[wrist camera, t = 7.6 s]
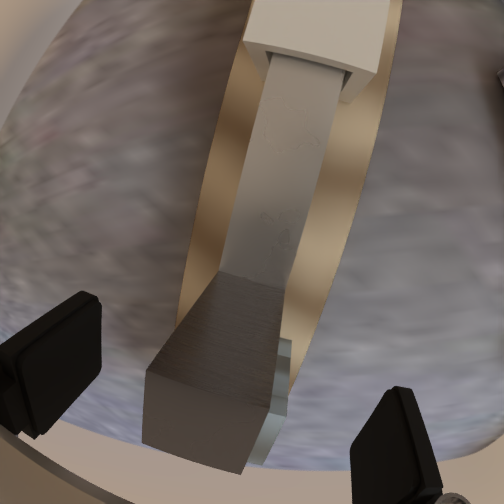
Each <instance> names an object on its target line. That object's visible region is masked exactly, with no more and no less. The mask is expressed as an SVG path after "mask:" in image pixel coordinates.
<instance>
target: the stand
mask: <svg viewBox="0 0 504 504" xmlns="http://www.w3.org/2000/svg"><path fill="white" fill-rule="evenodd" d="M402 1H403V0H390V5H389V11H388V17H387V23H386V28H385V34H384V39H383V45H382V50H381V55H380V60H379V65H378V70H377V74H376V75H375V76H374V77H373V78H372V80H371V81H370V82H369V83H368V84H367V85H366V86H365V88H364V89H363V90H362V91H361V92H360V93H359V94H358V96H357V97H356V98H355V99H354V100H353V101H352V102H351V104H350V103H346V102H343V101H340V100H338V103H337V107H336V111H335V115H334V119H333V123H332V127H331V131H330V135H329V139H328V143H327V146H326V150H325V154H324V158H323V162H322V165H321V169H320V173H319V176H318V180H317V184H316V187H315V191H314V194H313V198H312V202H311V205H310V209H309V212H308V216H307V219H306V223H305V226H304V230H303V233H302V236H301V240H300V243H299V247H298V250H297V253H296V257H295V260H294V263H293V267H292V270H291V273H290V276H289V280H288V283H287V286H286V289H285V297H284V306H283V314H282V322H281V330H280V338H279V346H278V353H277V361H276V368H275V376H274V383H273V390H272V397H271V404H270V410H269V412H268V414H267V417H266V419H265V421H264V424H263V426H262V429H261V431H260V433H259V435H258V438H257V440H256V442H255V445H254V447H253V449H252V451H251V454H250V456H249V458H248V460H247V462H249V463H253V464H258V465H263V463H264V461H265V459H266V457H267V455H268V453H269V451H270V449H271V447H272V446H273V443H274V441H275V439H276V437H277V435H278V433H279V431H280V429H281V427H282V425H283V423H284V421H285V419H286V415H287V403H288V395H289V393H290V391H291V388H292V386H293V384H294V381H295V379H296V376H297V374H298V372H299V369H300V367H301V364H302V362H303V359H304V357H305V355H306V352H307V350H308V347H309V344H310V342H311V339H312V337H313V334H314V332H315V329H316V326H317V324H318V321H319V318H320V316H321V313H322V310H323V308H324V305H325V302H326V299H327V297H328V294H329V291H330V288H331V285H332V283H333V280H334V277H335V274H336V271H337V268H338V265H339V262H340V259H341V256H342V253H343V250H344V247H345V244H346V241H347V238H348V235H349V231H350V228H351V225H352V222H353V218H354V215H355V212H356V209H357V205H358V202H359V198H360V195H361V191H362V188H363V184H364V181H365V177H366V174H367V170H368V166H369V163H370V159H371V155H372V151H373V147H374V143H375V139H376V135H377V131H378V127H379V123H380V119H381V114H382V110H383V106H384V101H385V97H386V92H387V87H388V82H389V78H390V73H391V67H392V62H393V57H394V52H395V46H396V40H397V34H398V28H399V22H400V15H401V8H402ZM254 2H255V0H252V3H251V6H250V9H249V13H248V16H247V19H246V22H245V25H244V28H243V32H242V35H241V38H240V42H239V45H238V48H237V52H236V55H235V59H234V62H233V65H232V69H231V73H230V76H229V80H228V83H227V87H226V91H225V94H224V98H223V102H222V106H221V109H220V113H219V117H218V121H217V125H216V129H215V133H214V137H213V141H212V145H211V149H210V153H209V157H208V162H207V166H206V170H205V175H204V179H203V183H202V188H201V192H200V197H199V201H198V206H197V211H196V216H195V220H194V225H193V230H192V235H191V240H190V245H189V250H188V255H187V261H186V266H185V271H184V277H183V282H182V288H181V294H180V299H179V305H178V311H177V317H176V323H175V329H176V328H177V327H178V325H179V324H180V323H181V321H182V320H183V318H184V317H185V316H186V314H187V313H188V312H189V310H190V309H191V307H192V306H193V305H194V303H195V302H196V301H197V299H198V298H199V297H200V295H201V294H202V292H203V291H204V290H205V288H206V287H207V286H208V284H209V283H210V282H211V280H212V279H213V278H214V276H215V275H216V273H217V272H218V271H219V266H220V262H221V258H222V253H223V249H224V245H225V240H226V236H227V232H228V228H229V223H230V219H231V215H232V211H233V207H234V202H235V198H236V194H237V190H238V186H239V182H240V178H241V174H242V170H243V166H244V162H245V158H246V154H247V150H248V146H249V142H250V138H251V134H252V130H253V126H254V123H255V119H256V115H257V111H258V107H259V103H260V100H261V96H262V92H263V88H264V85H265V81H261V78H260V76H259V74H258V72H257V70H256V68H255V66H254V63H253V61H252V59H251V57H250V55H249V53H248V51H247V49H246V47H245V45H244V43H243V41H242V40H243V37H244V34H245V30H246V27H247V24H248V21H249V17H250V14H251V11H252V8H253V5H254ZM174 331H175V330H174Z"/></svg>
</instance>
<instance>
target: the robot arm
mask: <svg viewBox="0 0 504 504" xmlns="http://www.w3.org/2000/svg"><path fill="white" fill-rule="evenodd" d="M101 319H102V305H101V303H100V302H99V300H98V297H97V296H94V295H92V294H90V293H87V292H85V291H79V292H78V293H76V294H75V295H73V296H72V297H70V298H69V299H67V300H65V301H64V302H62V303H61V304H59V305H58V306H56V307H55V308H53V309H52V310H50V311H49V312H47V313H46V314H44V315H43V316H41V317H40V318H38V319H37V320H35V321H34V322H32V323H31V324H30V325H28V326H27V327H25V328H24V329H22V330H21V331H19V332H18V333H16V334H15V335H14V336H12V337H11V338H9V339H8V340H6V341H5V342H4V343H2V344H1V345H0V504H134V503H132V502H130V501H127V500H125V499H123V498H121V497H118V496H116V495H114V494H112V493H110V492H108V491H106V490H104V489H102V488H100V487H98V486H96V485H94V484H92V483H90V482H88V481H86V480H85V479H83V478H81V477H79V476H77V475H75V474H74V473H72V472H70V471H69V470H67V469H65V468H64V467H62V466H60V465H59V464H57V463H55V462H54V461H52V460H51V459H49V458H47V457H46V456H44V455H43V454H41V453H40V452H38V451H37V450H35V449H34V448H32V447H31V446H29V445H28V444H27V443H25V442H24V441H22V440H21V439H19V438H18V434H19V433H20V432H21V431H23V432H24V433H25V434H27V435H28V436H30V437H31V438H33V439H34V440H35V439H36V438H37V437H38V436H39V435H40V434H41V435H44V434H45V433H46V432H47V431H48V430H49V429H50V428H51V427H52V426H53V424H54V423H55V422H56V421H57V420H58V419H59V418H60V417H61V416H62V414H63V413H64V412H65V411H66V410H67V409H68V408H69V407H70V406H71V404H72V403H73V402H74V401H75V400H76V399H77V398H78V397H79V396H80V394H81V393H82V392H83V391H84V390H85V389H86V388H87V387H88V386H89V385H90V384H91V382H92V381H93V380H94V379H95V378H96V377H97V376H98V375H99V373H100V371H101V367H102V357H101ZM350 465H351V481H352V504H470V502H469V501H468V500H467V499H466V498H465V497H463V496H462V495H459V494H457V493H446V494H444V495H443V493H442V488H443V484H442V480H441V477H440V473H439V470H438V466H437V463H436V459H435V456H434V453H433V449H432V446H431V443H430V440H429V437H428V434H427V431H426V428H425V425H424V422H423V419H422V416H421V413H420V410H419V407H418V404H417V401H416V399H415V396H414V393H413V391H412V389H410V388H404V387H399V386H394V387H393V388H392V389H391V390H390V389H388V390H387V391H386V392H385V393H384V395H383V397H382V398H381V400H380V402H379V403H378V405H377V407H376V408H375V410H374V411H373V413H372V414H371V416H370V418H369V419H368V421H367V422H366V424H365V425H364V427H363V428H362V430H361V431H360V433H359V434H358V436H357V437H356V438H355V440H354V441H353V443H352V445H351V448H350Z"/></svg>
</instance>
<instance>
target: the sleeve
mask: <svg viewBox="0 0 504 504" xmlns="http://www.w3.org/2000/svg"><path fill="white" fill-rule="evenodd" d="M389 5H390V0H255V2H254V5H253V8H252V11H251V14H250V17H249V21H248V24H247V27H246V30H245V34H244V37H243V40H242V41H243V43H244V45H245V47H246V49H247V51H248V53H249V55H250V57H251V59H252V61H253V63H254V66H255V68H256V70H257V72H258V74H259V76H260V78H261V81H266V77H267V74H268V70H269V66H270V63H271V59H272V55H273V52H275V53H280V54H285V55H290V56H294V57H298V58H303V59H307V60H311V61H315V62H318V63H322V64H326V65H330V66H333V67H337V68H340V69H343V70H345V74H344V78H343V83H342V87H341V91H340V95H339V99H338V100H340V101H343V102H346V103H350V104H351V102H352V101H353V100H354V99H355V98H356V97H357V96H358V94H359V93H360V92H361V91H362V90H363V89H364V88H365V86H366V85H367V84H368V83H369V82H370V81H371V80H372V78H373V77H374V76H375V75H376V74H377V70H378V65H379V60H380V55H381V50H382V45H383V39H384V34H385V28H386V23H387V17H388V11H389Z"/></svg>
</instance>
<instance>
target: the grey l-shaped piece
mask: <svg viewBox="0 0 504 504" xmlns="http://www.w3.org/2000/svg"><path fill="white" fill-rule="evenodd" d="M344 74H345V70H343V69H340V68H337V67H333V66H330V65H326V64H322V63H318V62H315V61H311V60H307V59H303V58H298V57H294V56H290V55H285V54H280V53H275V52H273V55H272V59H271V63H270V66H269V70H268V74H267V77H266V81H265V85H264V88H263V92H262V96H261V100H260V103H259V107H258V111H257V115H256V119H255V123H254V126H253V130H252V134H251V138H250V142H249V146H248V150H247V154H246V158H245V162H244V166H243V170H242V174H241V178H240V182H239V186H238V190H237V194H236V198H235V202H234V207H233V211H232V215H231V219H230V223H229V228H228V232H227V236H226V240H225V245H224V249H223V253H222V258H221V262H220V266H219V271H218V272H217V273H216V275H215V276H214V278H213V279H212V280H211V282H210V283H209V284H208V286H207V287H206V288H205V290H204V291H203V292H202V294H201V295H200V297H199V298H198V299H197V301H196V302H195V303H194V305H193V306H192V307H191V309H190V310H189V312H188V313H187V314H186V316H185V317H184V318H183V320H182V321H181V323H180V324H179V325H178V327H177V328H176V329H175V331H174V332H173V334H172V335H171V336H170V338H169V339H168V340H167V342H166V343H165V345H164V346H163V347H162V349H161V350H160V351H159V353H158V354H157V356H156V357H155V358H154V360H153V361H152V363H151V364H150V365H149V367H148V368H147V370H146V377H145V390H144V405H143V424H142V443H143V444H146V445H148V446H151V447H153V448H156V449H159V450H161V451H164V452H167V453H170V454H172V455H175V456H178V457H181V458H184V459H187V460H190V461H193V462H196V463H200V464H203V465H206V466H210V467H213V468H217V469H220V470H224V471H227V472H231V473H235V474H239V475H241V473H242V471H243V469H244V467H245V465H246V462H247V460H248V458H249V456H250V454H251V451H252V449H253V447H254V445H255V442H256V440H257V438H258V435H259V433H260V431H261V429H262V426H263V424H264V421H265V419H266V417H267V414H268V412H269V410H270V404H271V397H272V390H273V383H274V376H275V368H276V361H277V353H278V346H279V338H280V330H281V322H282V314H283V306H284V297H285V289H286V286H287V283H288V280H289V276H290V273H291V270H292V267H293V263H294V260H295V257H296V253H297V250H298V247H299V243H300V240H301V236H302V233H303V230H304V226H305V223H306V219H307V216H308V212H309V209H310V205H311V202H312V198H313V194H314V191H315V187H316V184H317V180H318V176H319V173H320V169H321V165H322V162H323V158H324V154H325V150H326V146H327V143H328V139H329V135H330V131H331V127H332V123H333V119H334V115H335V111H336V107H337V103H338V99H339V95H340V91H341V87H342V83H343V78H344Z"/></svg>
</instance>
